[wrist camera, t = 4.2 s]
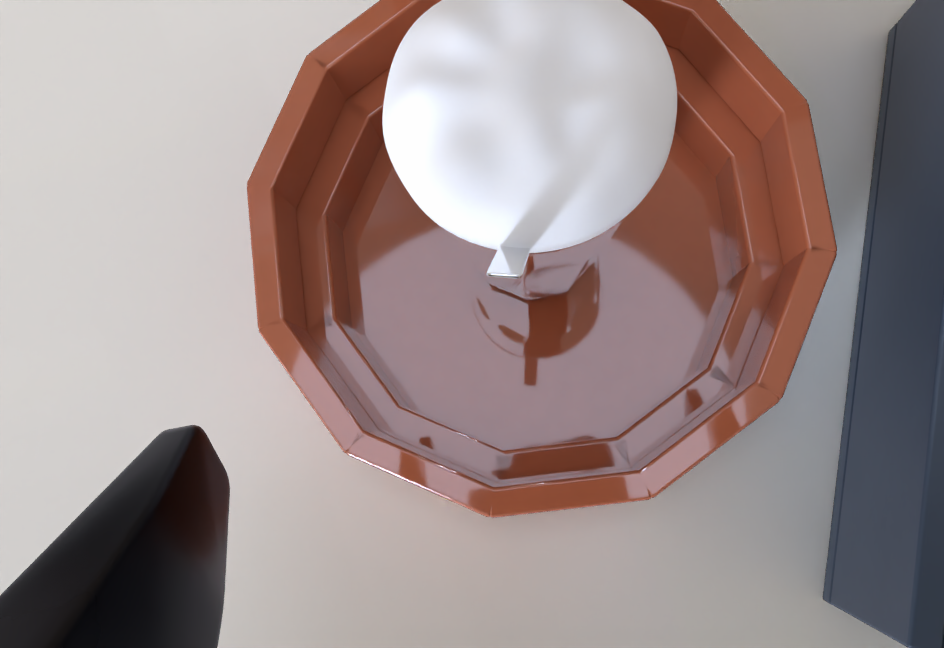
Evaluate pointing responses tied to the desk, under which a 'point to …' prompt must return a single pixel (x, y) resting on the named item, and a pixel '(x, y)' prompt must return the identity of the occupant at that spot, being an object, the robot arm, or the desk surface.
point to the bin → (898, 361)
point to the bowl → (552, 317)
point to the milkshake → (530, 130)
